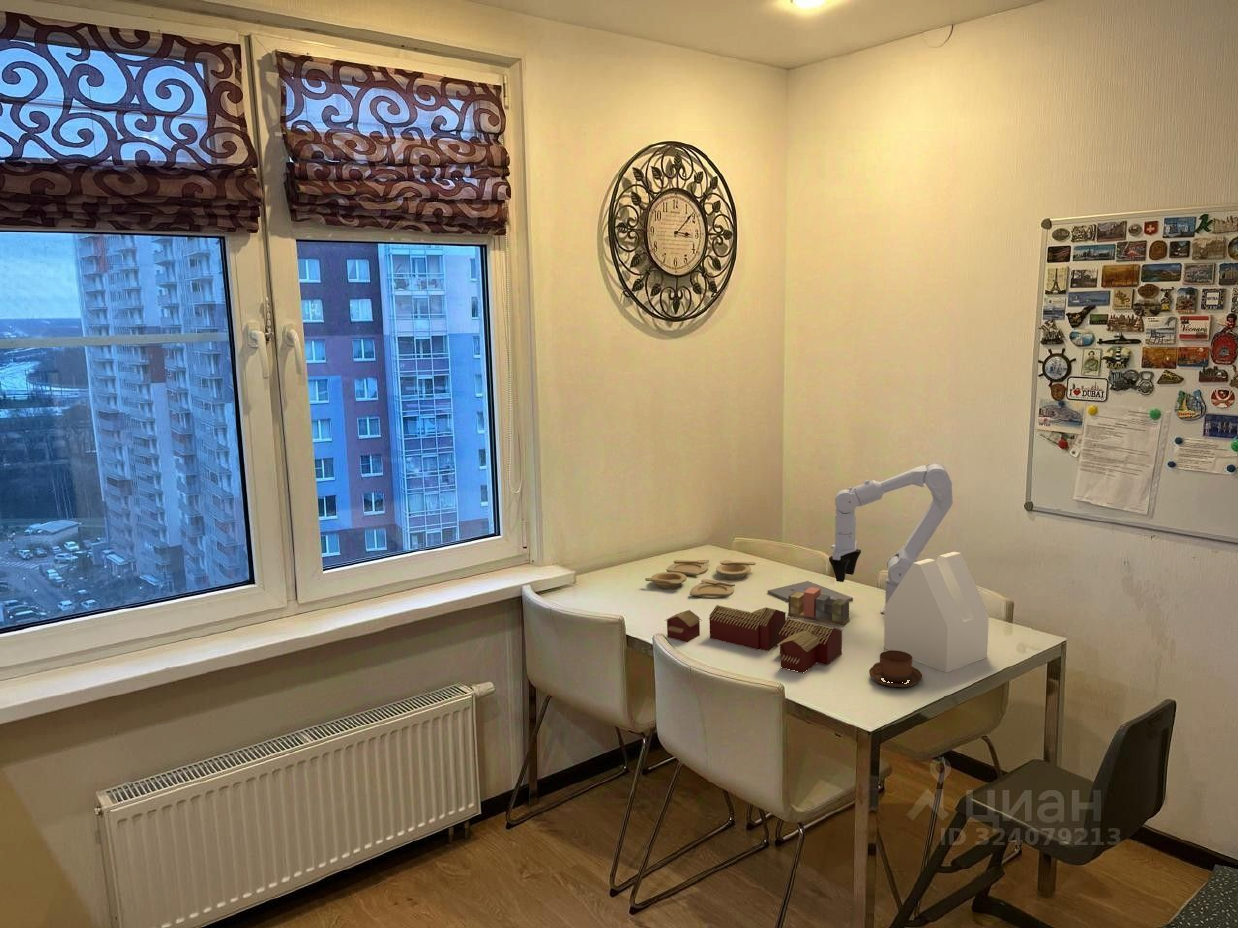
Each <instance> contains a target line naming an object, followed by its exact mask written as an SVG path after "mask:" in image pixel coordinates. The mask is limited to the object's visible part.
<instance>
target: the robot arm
mask: <svg viewBox="0 0 1238 928" xmlns="http://www.w3.org/2000/svg"><path fill="white" fill-rule="evenodd" d="M924 484H925V485H926V487H927V488H928V490H929V491H930V493H931V496H932V501H931V503H930V504H929V506H928V508H927V509H926V510H925V512H924V513H923V515H922V516H921V518H920V520H919V521H918V522H917V524H916V526H915V528H914V529H913V531H912V532H911V534H910V535H909V537H908V538H907V540H906V541H905V542H904V544H903V546H901V547H900V548H899V549H898V551H896V553H895V554H893V555H891V556H890V557H889V558H888V559H887V563H886V567H887V577H886V578H885V596H884V597H885V600H884V601H885V603H884V604H885V605H886V603H887V602H888V600H889V599H890V597H891V596H892V594H893V593H894V591H895V590H896V588H897V587H898V585H899V584H900V582H901V580H902V579H903V577H904V576H905V574H906V573H907V571H908V570H909V568H910V567H911V565H912V564H913V563H914V562H918V561H917V560H918V558H919V556H920V555H921V553H922V552H923V550H924V549H925V547H926V546H927V544H928V543H929V541H930V540H931V538H932V537H933V535H934V533H935V532H936V530H937V528H938V527H939V526H940V525H941V523H942V522H943V520H944V518H945V516H946V515H947V513H948V512H949V511H950V509H951V508H952V505H953V503H954V502H953V482H952V480H951V478H950V475H949V473H948V471H947V469H946V467H945V466H944V465H943V464H941V463H939V462H935V461H934V462H930V463H928V464H924V465H920V466H917V467H914V468H912V469H909V470H907V471H905V472H902V473H900V474H897V475H895V476H892V477H890V478H887V479H885V480H882V481H877V480H875V479H873V480H870V479H866V480H864V483H861V484H859V485H856V486H854V487H853V486H849V487H848V488H847V489H841V490H840V491H838V492H837V493H836V495H835V498H834V505H835V517H834V544H832V545H831V546H830V549H833V552H832V555H830V556H829V557H828V562H829V563H830V565H831V566H832V570H833V573H834V577H835V581H836V582H838V583H839V582H840V583H844V582H845V579H846V575H851V576H852V575H854V573H855V571H856V565H857V562H858V559H859V557H860V555H861V553H862V549H858V541H857V540H856V534H857V531H856V530H857V529H856V528H857V527H856V526H857V525H856V524H857V522H856V521H857V517H856V514H855V513H856V512H855V511H856V508H857V507H863V506H866V505H868V504H871V503H874V502H877V501H879V500H882V498H883V497H884V494H887V493H889V492H892V491H895V490H898V489H902V488H905V487H907V486H908V487H909V486H911V485H913V486H917V487H921V488H924V487H925V486H924ZM885 605H884V607H883V608H882V609H881V610H880V613H881V614H885Z"/></svg>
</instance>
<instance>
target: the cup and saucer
mask: <svg viewBox="0 0 1238 928" xmlns="http://www.w3.org/2000/svg"><path fill="white" fill-rule="evenodd" d="M868 674H869V675H870V677H871V679H872V680H873V681H875V682H877V683H878V684H881V685H883V686H887V687H893V688H908V687H911V686H915V685H917V684H919V683H920V682H921V681H922V679H923V673H922V672H921V671H920V670H919V669H917V668H916V667H914V666H913V659H912V656H911V655H910V654H908V653H906V652H902V651H896V650H886V651H885V650H884V651H882V652H880V653H879V661H877V662H876V663H874V664H873V666H871V667H870V669H869V671H868ZM881 678H884V680H885V681H886V682H883V681H882V680H881ZM907 680H910V681H909V683H907V684H904V683H906V682H907ZM888 681H889V682H890V683H887V682H888ZM891 682H893V683H891ZM902 682H903V683H902Z"/></svg>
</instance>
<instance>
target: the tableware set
mask: <svg viewBox="0 0 1238 928" xmlns="http://www.w3.org/2000/svg"><path fill="white" fill-rule="evenodd" d="M709 562H710V559H698V560H684V559H683V560H682V559H680V560H679V559H674V560H673V563H672V564H669V565H668V567H667V568H665V569H666V571H663V572H659V573H655V574H653V575H652V576H651V577H646V578H645V579H644V580H645V581H646V582H652V583H654V584H655V585H656V584H657V586H658V587H659V588H662V589H667V590H668V589H676V588H678V587H680V586H681V584H683V583H684V582H686V581H687V576H699V575H702V574H703V573H706V572H707V571H708V570H709V569H708V568H709V567H708V566H707V564H709ZM751 566H756V561H734V560H733V561H731V560H721V561H719V565H717V566H716V568H715V571H716V572H717V573H719V574H721V575H722V577H723V578H725V579H727V580H741V579H743V578H744V577H745V576H746V574H748V573H749V572H751V571H752V567H751ZM735 586H736V584H735V583H733V582H732V583H731V582H726V581H720V580H715V579H705V578H702V579H701V583H700V584H697V585H694V586H693V587H691V589H690V591H689V596H692V597H699V598H705V599H717V598H718V599H719V598H725V597H728V596H731V595H732V594H734V588H735Z"/></svg>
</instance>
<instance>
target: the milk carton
mask: <svg viewBox="0 0 1238 928" xmlns="http://www.w3.org/2000/svg"><path fill="white" fill-rule="evenodd" d="M884 607H885V613H884V623H883V624H884V625H883V626H884V628H883V629H884V630H883V632H884V633H883V639H884V640H883V648H884V649H885V650H886V651H890V650H896V651H902V652H906V653H908V654H910V655H911V656H912V661H913V660H914V661H915V662H918V663H921V664H923V665H925V666H928V667H931V668H933V669H937V670H939V671H941V672H944V673H946V674H947V673H949V672H952V671H955V670H957V669H960V668H963V667H966V666H967V665H971V664H973V663H975V662H979V661H981V660H984V659H987V658H988V645H989V644H988V643H989V640H988V639H989V620H990V619H989V618H990V616H989V615H990V613H989V611H988V608H987V607H986V605H985V602H984V601H983V598H982V595H981V594H980V592H979V589H978V587H977V585H976V583H975V581H974V579H973V577H972V574H971V571H970V570H969V568H968V566H967V563H966V562H965V559H964V557H963V555H962V553H961V552H957V551H952V552H948V553H944V554H941V555H940V554H939V556H937V558H936V559H933V558H925V559H922V560H919V561H916V562H914V563H913V564H912V565H911V567H910V568H909V570H908V571H907V573H906V574H905V576H904V577H903V579H902V580H901V582H900V584H899V585H898V587H897V588H896V590H895V591H894V593H893V594H892V596H891V597H890V599H889V600H888V602H887V603H886V605H884Z"/></svg>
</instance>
